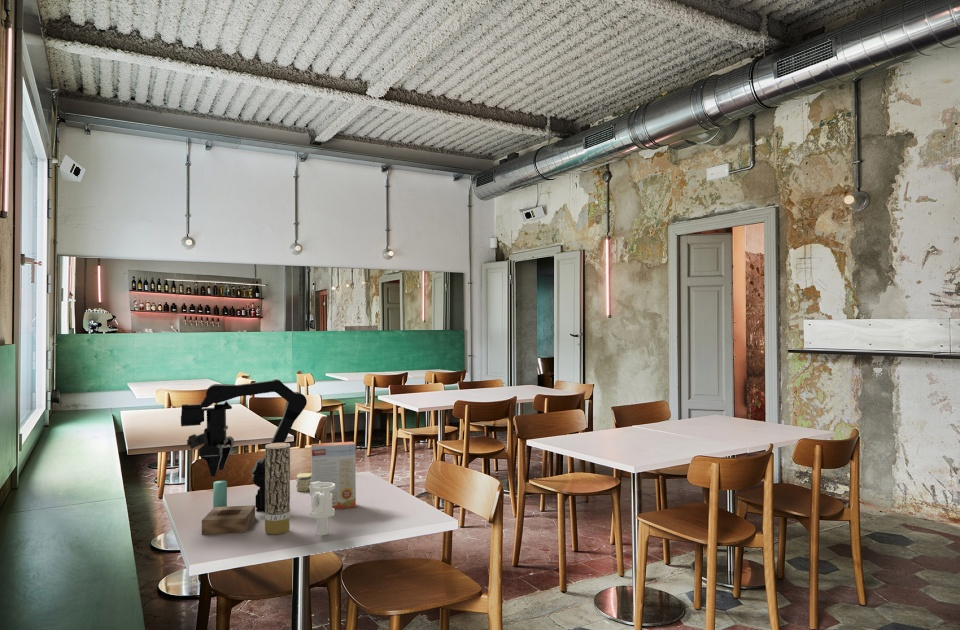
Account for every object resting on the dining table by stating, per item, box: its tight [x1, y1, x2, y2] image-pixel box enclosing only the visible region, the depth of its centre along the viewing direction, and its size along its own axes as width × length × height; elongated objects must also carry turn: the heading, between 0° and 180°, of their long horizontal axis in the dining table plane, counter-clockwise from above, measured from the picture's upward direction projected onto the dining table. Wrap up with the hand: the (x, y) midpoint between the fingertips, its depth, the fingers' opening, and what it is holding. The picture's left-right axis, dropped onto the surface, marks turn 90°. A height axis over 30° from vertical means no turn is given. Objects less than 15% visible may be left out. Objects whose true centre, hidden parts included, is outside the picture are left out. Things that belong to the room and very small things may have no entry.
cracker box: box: [310, 441, 357, 510], centre depth 212 cm, size 14×6×21 cm, turn 108°
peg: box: [212, 480, 228, 509], centre depth 205 cm, size 4×4×10 cm
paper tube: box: [264, 442, 291, 536], centre depth 186 cm, size 7×7×25 cm
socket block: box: [201, 504, 256, 535], centre depth 192 cm, size 12×14×4 cm
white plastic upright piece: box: [309, 481, 336, 536], centre depth 184 cm, size 7×7×15 cm
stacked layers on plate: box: [295, 472, 311, 492], centre depth 237 cm, size 10×9×6 cm
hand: (217, 473), depth 205 cm, fingers open, 9 cm apart
